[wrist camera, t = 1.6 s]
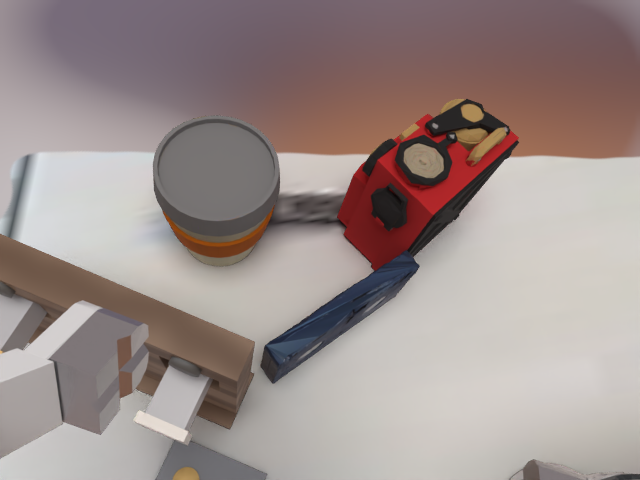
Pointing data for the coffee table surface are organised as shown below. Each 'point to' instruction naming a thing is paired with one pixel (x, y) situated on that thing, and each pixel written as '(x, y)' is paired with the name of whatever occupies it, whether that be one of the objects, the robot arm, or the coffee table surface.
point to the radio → (422, 180)
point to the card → (203, 465)
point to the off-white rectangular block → (175, 405)
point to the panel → (163, 321)
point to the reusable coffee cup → (217, 186)
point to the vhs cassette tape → (336, 317)
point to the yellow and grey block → (18, 321)
